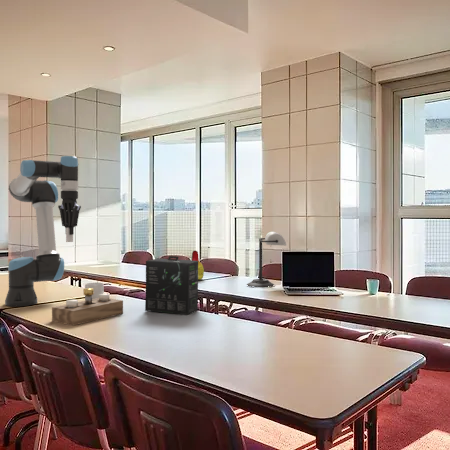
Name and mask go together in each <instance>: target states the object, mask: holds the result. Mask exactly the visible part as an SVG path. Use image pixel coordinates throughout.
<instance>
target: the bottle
mask: <svg viewBox="0 0 450 450" xmlns="http://www.w3.org/2000/svg"><path fill="white" fill-rule="evenodd" d="M191 260H192V261H198V280H202V279H203V278H204V274H205V272H204V271H205V270H204V269H205V268H204V265H203V263H202V262H200V259H199V251H198V250H193V251H192V253H191Z"/></svg>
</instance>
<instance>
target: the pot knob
mask: <svg viewBox="0 0 450 450" xmlns="http://www.w3.org/2000/svg"><path fill="white" fill-rule="evenodd" d="M82 294H83V295H84V301H85V305H92V295H93V294H94V289H93V288H85V287H84V288H83V293H82Z"/></svg>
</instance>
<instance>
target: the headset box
mask: <svg viewBox="0 0 450 450" xmlns="http://www.w3.org/2000/svg"><path fill="white" fill-rule="evenodd" d="M198 293H199V279H198V261H192V259H190V260H188V259H179V256H178V255H177V256H175V255H174V256H172V255H169V256H168V258H157V257H156V258H155V259H150V260H146V261H145V299H144V300H145V305H144V306H145V308H144V309H145V310H144V311H145V312H152V313H153V312H154V313H165V314H176V315H183V316H189V315H192V314H193V313H195V312H197V311H198V309H199V306H198V305H199V304H198V303H199V302H198V301H199V294H198ZM194 311H195V312H194ZM192 312H193V313H192Z"/></svg>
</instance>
